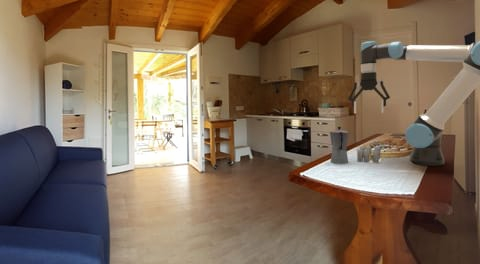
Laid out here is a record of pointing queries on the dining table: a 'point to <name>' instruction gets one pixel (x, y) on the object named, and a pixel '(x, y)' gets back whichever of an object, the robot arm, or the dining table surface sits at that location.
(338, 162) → the moka pot
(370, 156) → the nut
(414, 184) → the dining table surface
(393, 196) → the dining table surface
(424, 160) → the robot arm
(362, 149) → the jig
